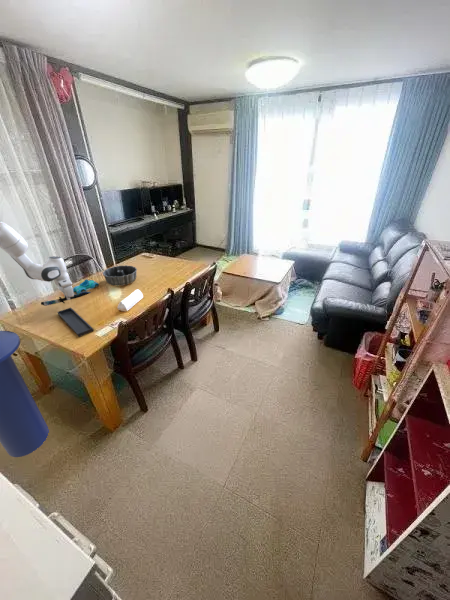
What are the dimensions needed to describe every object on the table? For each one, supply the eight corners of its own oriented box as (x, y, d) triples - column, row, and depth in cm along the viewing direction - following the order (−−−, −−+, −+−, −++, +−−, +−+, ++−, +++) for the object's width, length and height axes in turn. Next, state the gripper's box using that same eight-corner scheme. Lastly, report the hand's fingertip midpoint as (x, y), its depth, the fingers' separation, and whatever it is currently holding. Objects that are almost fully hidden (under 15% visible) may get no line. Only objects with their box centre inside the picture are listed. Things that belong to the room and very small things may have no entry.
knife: (42, 308, 164) (40, 302, 162) (41, 307, 166) (39, 300, 164) (92, 296, 183) (91, 291, 181) (91, 295, 185) (90, 289, 183)
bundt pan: (122, 273, 228) (120, 263, 223) (145, 278, 218) (143, 267, 213) (98, 284, 207) (95, 273, 202) (122, 291, 197) (119, 279, 192)
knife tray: (78, 337, 145) (77, 334, 144) (58, 314, 166) (57, 312, 165) (93, 331, 151) (92, 328, 150) (71, 310, 172) (70, 307, 171)
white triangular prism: (127, 308, 166) (146, 292, 186) (117, 302, 166) (138, 287, 186) (124, 316, 170) (143, 299, 190) (114, 310, 169) (135, 294, 190)
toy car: (100, 285, 206) (98, 278, 202) (79, 294, 192) (77, 286, 188) (91, 283, 210) (89, 275, 207) (70, 291, 196) (68, 283, 193)
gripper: (51, 277, 171) (57, 295, 178) (62, 286, 159) (68, 305, 166) (61, 274, 176) (67, 292, 182) (73, 283, 163) (78, 302, 170)
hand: (67, 298), depth 174 cm, fingers closed on knife
